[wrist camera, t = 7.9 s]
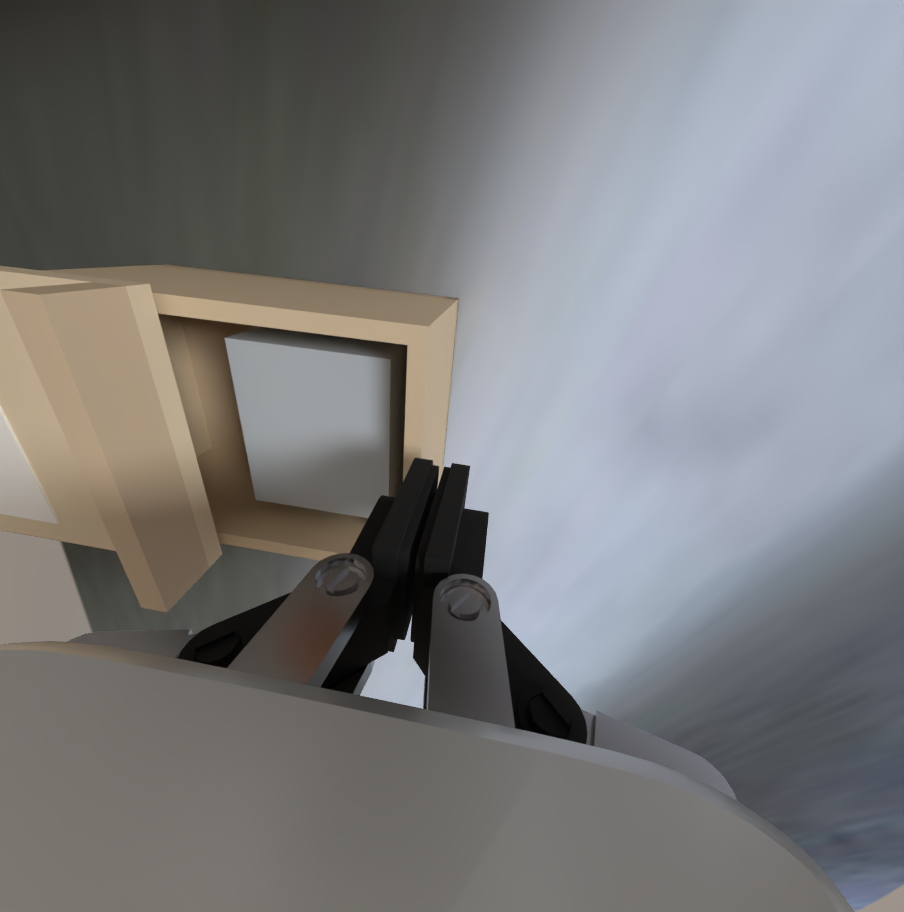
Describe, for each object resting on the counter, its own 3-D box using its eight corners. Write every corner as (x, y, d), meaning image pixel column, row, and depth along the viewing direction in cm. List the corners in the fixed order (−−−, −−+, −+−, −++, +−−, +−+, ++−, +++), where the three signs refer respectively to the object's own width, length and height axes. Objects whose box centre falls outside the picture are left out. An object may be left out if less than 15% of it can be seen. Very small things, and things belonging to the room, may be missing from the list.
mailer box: (458, 298, 17) (428, 326, 11) (441, 485, 22) (413, 577, 16) (166, 264, 18) (-9, 272, 12) (211, 449, 23) (102, 522, 17)
